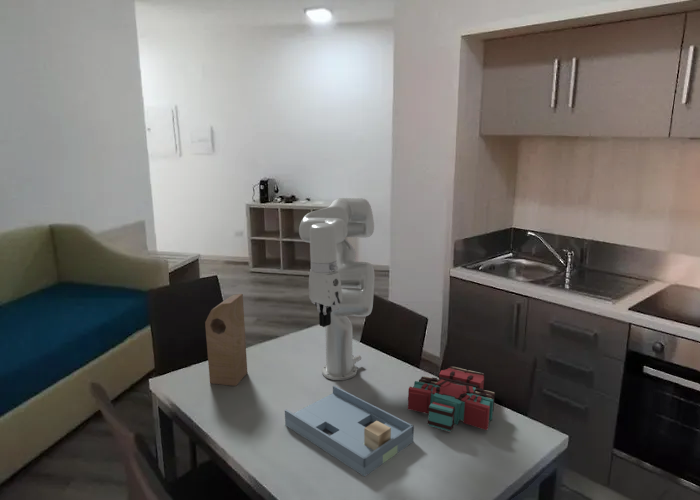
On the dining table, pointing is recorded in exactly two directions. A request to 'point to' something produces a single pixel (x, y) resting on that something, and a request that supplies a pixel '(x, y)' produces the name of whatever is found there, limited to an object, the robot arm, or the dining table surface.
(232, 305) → the decorative block
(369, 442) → the oak block
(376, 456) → the trap board
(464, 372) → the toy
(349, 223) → the robot arm
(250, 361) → the dining table surface
